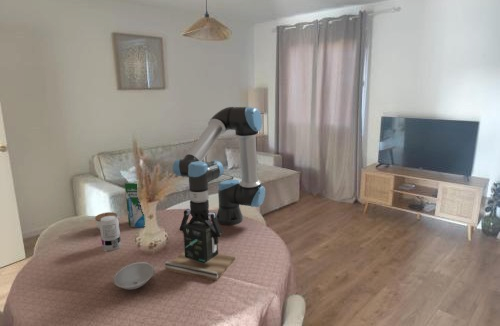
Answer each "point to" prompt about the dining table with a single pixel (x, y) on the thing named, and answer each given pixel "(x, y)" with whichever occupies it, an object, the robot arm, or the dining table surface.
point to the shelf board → (201, 266)
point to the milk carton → (134, 206)
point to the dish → (133, 275)
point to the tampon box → (198, 242)
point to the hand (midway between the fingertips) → (201, 248)
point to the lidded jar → (102, 217)
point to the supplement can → (110, 233)
